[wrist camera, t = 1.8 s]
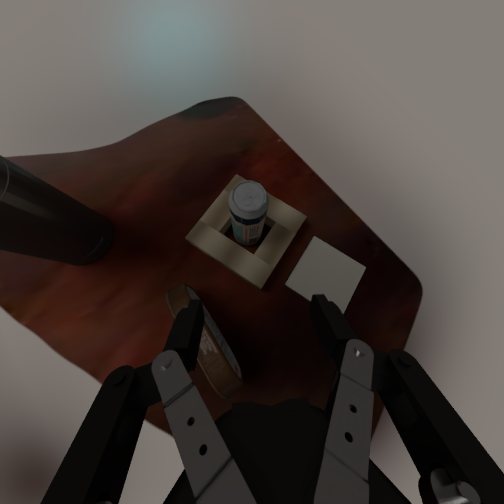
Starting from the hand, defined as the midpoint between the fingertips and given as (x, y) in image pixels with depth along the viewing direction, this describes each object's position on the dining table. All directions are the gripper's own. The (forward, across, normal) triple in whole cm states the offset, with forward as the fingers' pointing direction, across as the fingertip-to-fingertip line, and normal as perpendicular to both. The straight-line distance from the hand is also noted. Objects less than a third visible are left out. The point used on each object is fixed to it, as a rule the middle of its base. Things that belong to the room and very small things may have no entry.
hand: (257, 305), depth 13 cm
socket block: (+20, 0, +3) cm, 20 cm away
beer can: (+20, 0, +3) cm, 20 cm away
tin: (+9, +6, +14) cm, 18 cm away
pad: (+14, -13, +9) cm, 21 cm away
